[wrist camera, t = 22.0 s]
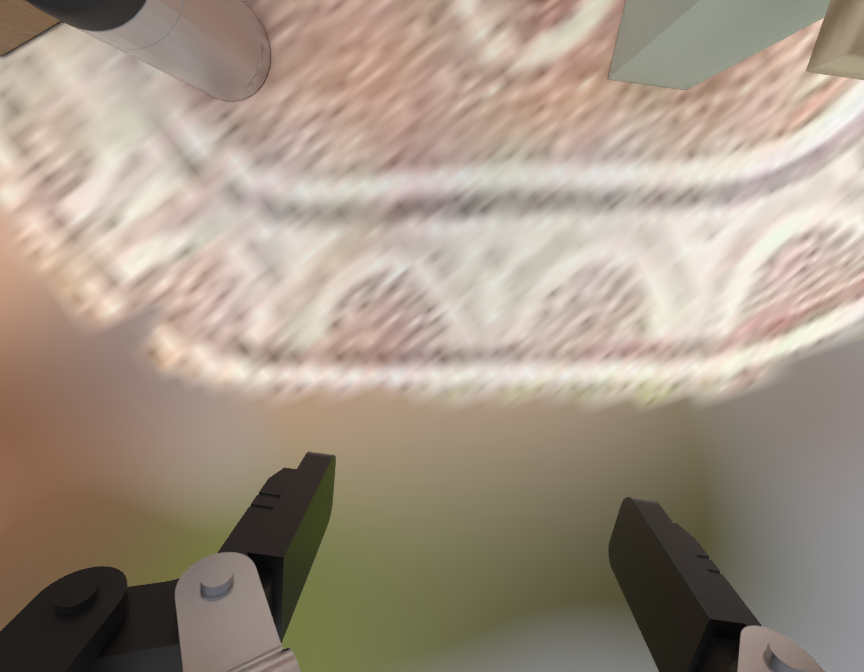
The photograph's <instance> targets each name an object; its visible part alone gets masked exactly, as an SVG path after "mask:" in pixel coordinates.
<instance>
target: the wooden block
mask: <svg viewBox="0 0 864 672" xmlns="http://www.w3.org/2000/svg"><path fill="white" fill-rule="evenodd" d="M58 22H60V20H58V19H56V18H54V17H52V16H50V15H48V14H46V13H45V12H43V11H41V10H39V9H38V8H36V7H34V6H33V5H31V4H30V3H28V2H27V1H25V0H0V56H2V55H4V54H6V53H8V52H9V51H11V50H13V49H14V48H16V47H18V46H19V45H21V44H23V43H24V42H26V41H28V40H30V39H31V38H33V37H35V36H36V35H38V34H40V33H41V32H43V31H45V30H46V29H48V28H50V27H51V26H53V25H55V24H56V23H58Z"/></svg>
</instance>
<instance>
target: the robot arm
mask: <svg viewBox="0 0 864 672" xmlns="http://www.w3.org/2000/svg"><path fill="white" fill-rule="evenodd" d="M25 1H27V2H28V3H30V4H31V5H33V6H34V7H36V8H38V9H39V10H41V11H43V12H45V13H46V14H48V15H50V16H52V17H54V18H56V19H58V20H60V21H62V22H64V23H66V24H68V25H70V26H72V27H74V28H76V29H78V30H80V31H82V32H84V33H86V34H88V35H90V36H92V37H94V38H96V39H98V40H100V41H102V42H105V43H107V44H109V45H111V46H113V47H115V48H117V49H119V50H121V51H123V52H125V53H127V54H129V55H131V56H133V57H135V58H137V59H139V60H141V61H143V62H145V63H147V64H149V65H151V66H153V67H155V68H157V69H159V70H161V71H163V72H165V73H167V74H169V75H171V76H173V77H175V78H177V79H179V80H181V81H183V82H185V83H186V84H188V85H190V86H192V87H194V88H196V89H198V90H200V91H202V92H204V93H206V94H208V95H210V96H212V97H214V98H217V99H220V100H223V101H239V100H243V99H245V98H248V97H250V96H251V95H252V94H254V93H255V92H256V91H257V90H258V89H259V88H260V87H261V85H262V84H263V83H264V80H265V78H266V76H267V74H268V70H269V66H270V47H269V41H268V38H267V35H266V32H265V30H264V28H263V26H262V24H261V22H260V21H259V19H258V18H257V17H256V16H255V14H254V13H253V12H252V11H251V10H250V9H249V8H248V7H247V6H246V5H245V4H244V3H243V2H242V1H241V0H25ZM335 465H336V457H335V455H329V454H321V453H314V452H307V453H306V455H305V457H304V458H303V460H302V462H301V463H300V465H299V467H298V468H297V469H290V468H283V469H282V470H280V471H279V472H277V473H276V474H275V475H273V476H272V477H270V478H269V479H268V480H267V482H266V483H265V485H264V486H263V487H262V489H261V490H260V492H259V495H257V496H256V498H255V499H254V500H253V502H252V504H251V506H250V507H249V508H248V509H247V511H246V512H245V514H244V515H243V517H242V518H241V519H240V521H239V522H238V524H237V525H236V527H235V528H234V530H233V531H232V533H231V534H230V535H229V537H228V538H227V540H226V541H225V543H224V544H223V546H222V547H221V549H220V550H219V552H218V553H217V554H214V555H211V556H208V557H205V558H203V559H202V560H200V561H198V562H196V563H195V564H193V565H192V566H191V567H190V568H188V569H187V570H186V571H185V572H184V574H183V575H182V576H181V578H179V579H176V580H172V581H167V582H160V583H154V584H146V585H139V586H132V587H128V586H127V579H126V577H125V575H124V574H123V572H121V571H120V570H118V569H116V568H112V567H102V566H101V567H92V568H87V569H83V570H80V571H77V572H74V573H71V574H69V575H66V576H64V577H63V578H61V579H59V580H57V581H55V582H54V583H52V584H50V585H49V586H48V587H46V588H45V589H44V590H43V591H41V592H40V593H39V594H38V595H37V596H36V597H35V598H34V599H33V600H32V601H31V602H30V603H29V604H28V605H27V606H26V607H25V608H24V609H23V610H22V611H21V612H20V613H19V614H18V615H17V616H16V617H15V618H14V619H13V620H12V621H11V622H10V623H9V624H8V625H6V627H4V628H3V629H2V631H0V672H301V671H300V668H299V665H298V663H297V660H296V657H295V655H294V653H293V651H292V650H291V649H290V648H287V649H285V650H284V649H283V647H282V645H281V643H282V641H283V638H284V636H285V633H286V630H287V628H288V625H289V623H290V620H291V618H292V615H293V613H294V610H295V607H296V605H297V602H298V600H299V597H300V595H301V592H302V590H303V587H304V585H305V582H306V579H307V577H308V574H309V572H310V569H311V567H312V564H313V562H314V559H315V557H316V554H317V551H318V548H319V546H320V544H321V541H322V539H323V536H324V534H325V531H326V528H327V525H328V523H329V519H330V515H331V510H332V503H333V491H334V477H335ZM609 561H610V565H611V568H612V570H613V572H614V575H615V577H616V579H617V581H618V583H619V585H620V588H621V590H622V592H623V594H624V596H625V598H626V601H627V603H628V605H629V607H630V609H631V611H632V613H633V616H634V618H635V620H636V622H637V624H638V627H639V629H640V631H641V633H642V635H643V637H644V640H645V642H646V644H647V646H648V648H649V651H650V653H651V655H652V657H653V659H654V661H655V664H656V666H657V668H658V670H659V672H825V671H824V670H823V669H822V668H821V666H820V665H819V664H818V663H817V662H816V660H815V659H814V658H813V657H812V656H811V655H810V654H808V653H807V652H806V651H805V650H804V649H803V648H801V647H800V646H799V645H798V644H796V643H795V642H793V641H792V640H790V639H789V638H787V637H785V636H784V635H782V634H780V633H778V632H776V631H773V630H771V629H768V628H765V627H762V626H761V624H760V623H759V622H758V620H757V619H756V618H755V616H754V615H753V614H752V612H751V611H750V610H749V609H748V607H747V606H746V605H745V603H744V602H743V601H742V599H741V598H740V597H739V595H738V594H737V593H736V592H735V590H734V589H733V588H732V586H731V585H730V584H729V582H728V581H727V580H726V578H725V577H724V576H723V575H721V574H720V571H719V569H718V568H717V566H716V565H715V564H714V563H713V561H712V560H709V556H708V555H707V553H706V552H705V551H704V550H703V548H702V547H701V545H700V544H699V543H698V542H697V540H696V539H695V538H694V537H692V536H691V535H690V534H689V533H687V532H686V531H685V530H684V529H683V528H682V527H680V526H679V525H678V524H676V523H673V522H672V521H671V519H670V518H669V517H668V515H667V514H666V512H665V511H664V510H663V508H662V507H661V506H660V504H659V503H658V502H655V501H650V500H644V499H637V498H630V497H627V498H625V499H624V500H623V502H622V504H621V507H620V510H619V513H618V516H617V520H616V523H615V526H614V529H613V532H612V535H611V539H610V542H609Z"/></svg>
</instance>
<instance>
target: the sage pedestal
mask: <svg viewBox="0 0 864 672" xmlns="http://www.w3.org/2000/svg"><path fill="white" fill-rule="evenodd" d="M829 3H830V0H626V1H625V5H624V9H623V14H622V18H621V23H620V27H619V32H618V36H617V41H616V45H615V49H614V54H613V58H612V63H611V67H610V72H609V76H608V79H610V80H617V81H624V82H631V83H639V84H646V85H653V86H660V87H667V88H674V89H682V90H688V89H690V88H691V87H693V86H695V85H697V84H699V83H701V82H703V81H705V80H707V79H709V78H710V77H712V76H714V75H716V74H718V73H720V72H722V71H724V70H726V69H728V68H729V67H731V66H733V65H735V64H737V63H739V62H741V61H743V60H745V59H746V58H748V57H750V56H752V55H754V54H756V53H758V52H760V51H762V50H764V49H765V48H767V47H769V46H771V45H773V44H775V43H777V42H779V41H781V40H782V39H784V38H786V37H788V36H790V35H792V34H794V33H796V32H798V31H800V30H801V29H803V28H805V27H807V26H809V25H811V24H813V23H815V22H817V21H818V20H820V19H822V18H824V17H825V15H826V12H827V9H828V6H829Z"/></svg>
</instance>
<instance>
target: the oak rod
mask: <svg viewBox="0 0 864 672" xmlns="http://www.w3.org/2000/svg"><path fill="white" fill-rule="evenodd" d="M806 72H811V73H818V74H825V75H832V76H839V77H846V78H852V79H859V80H864V0H830V3H829V6H828V9H827V12H826V15H825V18H824V20H823V23H822V26H821V29H820V32H819V35H818V38H817V41H816V43H815V46H814V49H813V52H812V55H811V58H810V61H809V63H808V66H807V69H806Z"/></svg>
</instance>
